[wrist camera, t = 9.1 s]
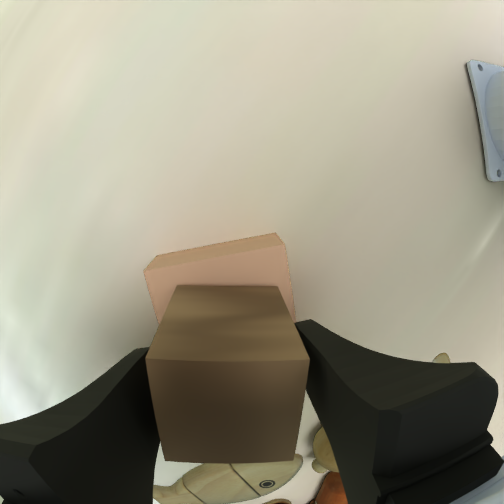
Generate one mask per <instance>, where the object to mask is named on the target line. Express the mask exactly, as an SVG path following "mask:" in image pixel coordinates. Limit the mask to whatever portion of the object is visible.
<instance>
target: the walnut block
mask: <svg viewBox="0 0 504 504" xmlns="http://www.w3.org/2000/svg"><path fill="white" fill-rule="evenodd" d="M145 360H146V366H147V373H148V379H149V385H150V391H151V397H152V402H153V408H154V413H155V418H156V423H157V428H158V432H159V437H160V442H161V446H162V450H163V455H164V459H165V461H174V462H189V463H217V464H240V463H268V462H283V461H293V460H294V455H295V450H296V444H297V439H298V433H299V427H300V421H301V415H302V409H303V403H304V397H305V390H306V383H307V376H308V369H309V362H310V358H309V356H308V354H307V352H306V349H305V347H304V345H303V342H302V340H301V338H300V336H299V333H298V331H297V329H296V327H295V324H294V322H293V320H292V318H291V315H290V313H289V311H288V308H287V306H286V304H285V302H284V299H283V297H282V295H281V293H280V290H279V288H278V286H199V285H177V286H176V289H175V291H174V293H173V295H172V297H171V300H170V302H169V304H168V306H167V309H166V311H165V313H164V316H163V318H162V320H161V322H160V325H159V327H158V329H157V332H156V334H155V336H154V339H153V341H152V344H151V346H150V348H149V351H148V353H147V355H146V358H145Z"/></svg>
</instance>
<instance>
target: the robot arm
mask: <svg viewBox="0 0 504 504" xmlns="http://www.w3.org/2000/svg"><path fill="white" fill-rule="evenodd" d="M467 68H468V72H469V76H470V80H471V84H472V88H473V92H474V96H475V101H476V106H477V111H478V116H479V122H480V127H481V134H482V140H483V148H484V155H485V164H486V174H487V178H488V180H490V181H494V182H495V181H504V67H502V66H498V65H494V64H490V63H485V62H481V61H476V60H470V61H468V62H467ZM478 68H479V69H478ZM294 324H295V327H296V329H297V331H298V333H299V336H300V338H301V340H302V342H303V345H304V347H305V349H306V352H307V354H308V356H309V358H310V362H309V369H308V376H307V383H306V391H307V394H308V396H309V398H310V400H311V402H312V405H313V407H314V409H315V411H316V413H317V416H318V418H319V420H320V422H321V424H322V426H323V429H324V431H325V433H326V435H327V437H328V440H329V442H330V445H331V448H332V451H333V454H334V457H335V461H336V464H337V467H338V470H339V474H340V477H341V480H342V484H343V487H344V491H345V494H346V498H347V501H348V504H504V456H502V457H500V455H499V454H498V453H497V452H496V451H495V449H494V448H493V447H492V446H491V445H490V444H491V443H492V441H493V437H492V435H491V434H490V433H489V432H488V431H487V428H488V425H489V423H490V420H491V417H492V415H493V412H494V409H495V406H496V403H497V398H498V384H497V383H496V381H495V379H494V378H492V377H491V376H490V375H489V374H488V373H487V372H486V371H484V370H483V369H482V368H481V367H480V366H479V365H477V364H476V363H475V362H467V363H432V362H421V361H413V360H407V359H402V358H397V357H393V356H389V355H385V354H382V353H379V352H375V351H372V350H370V349H367V348H364V347H362V346H360V345H357V344H355V343H353V342H351V341H349V340H346V339H344V338H343V337H341V336H339V335H337V334H335V333H333V332H332V331H330V330H328V329H326V328H325V327H323V326H321V325H320V324H318V323H317V322H315V321H313V320H311V319H310V320H305V321H301V322H296V323H294ZM149 348H150V347H147V348H139V349H136V350H134V351H132V352H131V353H129V354H128V355H127V356H125V357H124V358H123V359H122V360H120V361H119V362H118V363H117V364H115V365H114V366H113V367H112V368H110V369H109V370H108V371H107V372H106V373H104V374H103V375H102V376H100V377H99V378H98V379H96V380H95V381H94V382H92V383H91V384H90V385H88V386H87V387H85V388H84V389H83V390H81V391H80V392H78V393H76V394H75V395H73V396H72V397H70V398H68V399H66V400H65V401H63V402H61V403H59V404H57V405H55V406H53V407H51V408H48V409H46V410H44V411H42V412H40V413H37V414H35V415H32V416H29V417H26V418H23V419H20V420H17V421H13V422H10V423H5V424H0V495H1V497H2V498H3V499H4V500H3V502H2V504H153V483H154V470H155V463H156V458H157V453H158V449H159V444H160V437H159V432H158V428H157V423H156V418H155V413H154V408H153V402H152V397H151V391H150V385H149V379H148V373H147V366H146V360H145V358H146V355H147V353H148V351H149Z"/></svg>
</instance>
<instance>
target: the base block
mask: <svg viewBox="0 0 504 504" xmlns="http://www.w3.org/2000/svg"><path fill="white" fill-rule="evenodd" d="M144 275H145V279H146V282H147V286H148V289H149V293H150V296H151V300H152V303H153V307H154V310H155V313H156V317H157V320H158V323H159V325H160V322H161V320H162V318H163V316H164V313H165V311H166V309H167V306H168V304H169V302H170V300H171V297H172V295H173V293H174V291H175V289H176V286H177V285H199V286H278V288H279V290H280V293H281V295H282V297H283V299H284V302H285V304H286V306H287V308H288V311H289V313H290V315H291V318H292V320H293V322H294V323H296V316H295V309H294V302H293V295H292V288H291V281H290V274H289V268H288V261H287V255H286V248H285V244H284V243H283V241H282V240H281V239H280V238H279V236H278V235H277V234H276V233H271V234H266V235H261V236H255V237H250V238H245V239H239V240H234V241H229V242H224V243H218V244H213V245H208V246H203V247H198V248H193V249H187V250H182V251H177V252H172V253H167V254H162V255H157V256H156V257H155V258H154V259H153V261H152V262H151V263H150V264H149V265H148V266H147V268H146V269H145V270H144Z"/></svg>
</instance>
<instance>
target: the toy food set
mask: <svg viewBox="0 0 504 504" xmlns="http://www.w3.org/2000/svg"><path fill="white" fill-rule="evenodd" d="M432 363H450V360H449V357H448V355H447V354H446V353H441V354H439V355H438V356H436V358H435V359H434V360H433V362H432ZM313 452H314V456H315V458H316V459H315V460H313V462H312V468H313V469H314V470H315V471H316V472H318V473H324V472H326V471H327V469H328V470H330V471H331V472H329V473H328V474H327V476H326V478H325V480H324V482H323V484H322V486H321V488H320V491H319V493H318V495H317V497H316V499H314V500H312V501H311V502H310V503H309V504H348V501H347V498H346V494H345V491H344V487H343V484H342V480H341V477H340V474H339V470H338V467H337V464H336V461H335V457H334V454H333V451H332V448H331V445H330V442H329V440H328V437H327V435H326V433H325V431H324V429H323V426H322V428H321V429H320V430H319V431H318V432H317V433H316V435H315V438H314V441H313ZM302 464H303V458H302V456H301V455H299V454H295V455H294V460H293V461H283V462H268V463H240V464H217V463H204V464H202V465H200V466H198V467H196V468H194V469H192V470H190V471H189V472H187V473H186V474H184V475H183V477H181V478H180V479H179V480H178V481H177V482H176V483H175V484H173V485H172V486H169V487H166V486H158V485H153V498H154V499H155V500H157V501H158V502H159V503H160V504H229V503H236V502H242V501H247V500H252V499H255V498H259V497H261V496H264V495H267V494H269V493H271V492H273V491H275V490H277V489H279V488H280V487H282V486H283V485H285V484H286V483H287V482H288V481H290V480H291V479H292V478H293V477H294V476H295V475H296V473H297V472H298V471H299V470H300V468H301V467H302ZM264 504H291V502H290V501H289V500H286V499H274V500H271V501H269V502H266V503H264Z"/></svg>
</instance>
